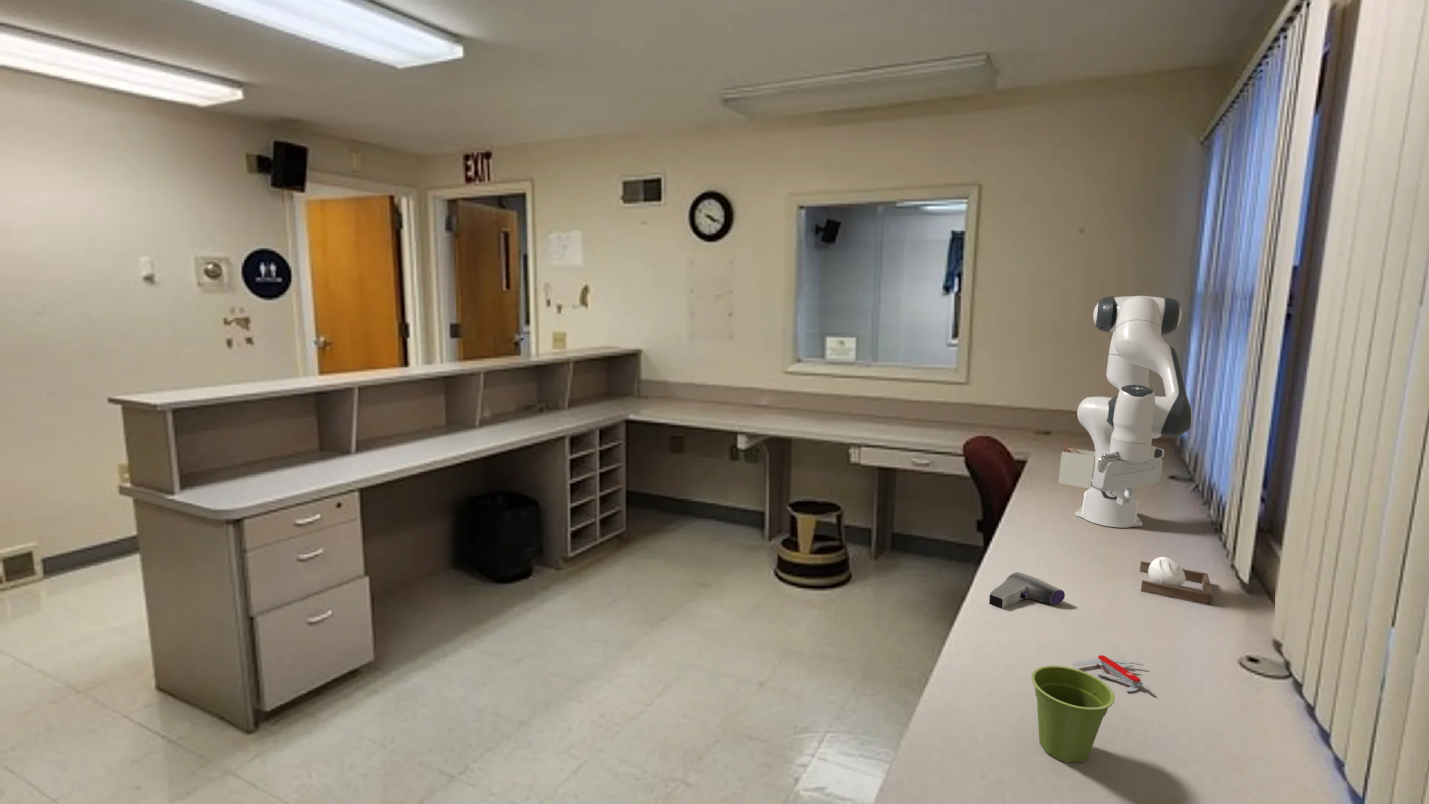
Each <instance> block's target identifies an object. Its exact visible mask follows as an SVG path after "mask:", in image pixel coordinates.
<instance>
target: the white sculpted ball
mask: <svg viewBox="0 0 1429 804" xmlns="http://www.w3.org/2000/svg"><path fill="white" fill-rule="evenodd" d="M1150 563H1151V564H1150V566H1149V569H1148V573H1147V574H1148V577H1149V579H1150V582H1154V583H1159V584H1164V585H1169V586H1174V587H1179V588H1182V587H1181V586H1183V584H1184V583H1185V581H1186V580H1185V579H1186V577H1185V574H1184V572H1183V570H1182V569H1183V568H1182V567H1181V565H1180V564H1179V563H1177V561H1174V560H1173V559H1171V558H1169V557H1167V556H1160V557H1157V558H1154V559H1153V560H1152V561H1151V562H1150Z"/></svg>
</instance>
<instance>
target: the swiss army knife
mask: <svg viewBox="0 0 1429 804" xmlns="http://www.w3.org/2000/svg"><path fill="white" fill-rule="evenodd" d="M1093 664H1096V666H1097V667H1099V668H1100V669H1101V670H1103V671H1104V672H1106V673H1104V672H1101V671H1097V670H1094V673H1095V674H1097V675H1099V676H1102V677H1106V678H1109V679H1112V680H1115V681H1117V682H1119V683H1122V684H1124V685H1125V686H1127V688H1126V689H1125V692H1128V693H1132V692H1137V691H1138V690H1140V687H1143V688H1144V689H1145V690H1147V691H1152V689H1151V688H1150V687H1149V686H1148V685H1146V684H1145V683H1143V682H1142V680H1141V678H1140V677H1138V676H1137V675H1136V674H1134V673H1132V672H1130V671H1129V670H1127V669H1129V668H1135V665H1137V666H1144V663H1141V662H1136V661H1134V662H1133V661H1127V660H1122V659H1121V660H1120V659H1114V658H1108V657H1107V656H1105V655H1103V654H1101V655H1098V656H1097V657H1096V658H1094V659H1092V658H1091V659H1085V660H1080V661H1074V662H1073V663H1072V666H1076V667H1077V666H1086V665H1093ZM1107 673H1108V674H1107Z"/></svg>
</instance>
